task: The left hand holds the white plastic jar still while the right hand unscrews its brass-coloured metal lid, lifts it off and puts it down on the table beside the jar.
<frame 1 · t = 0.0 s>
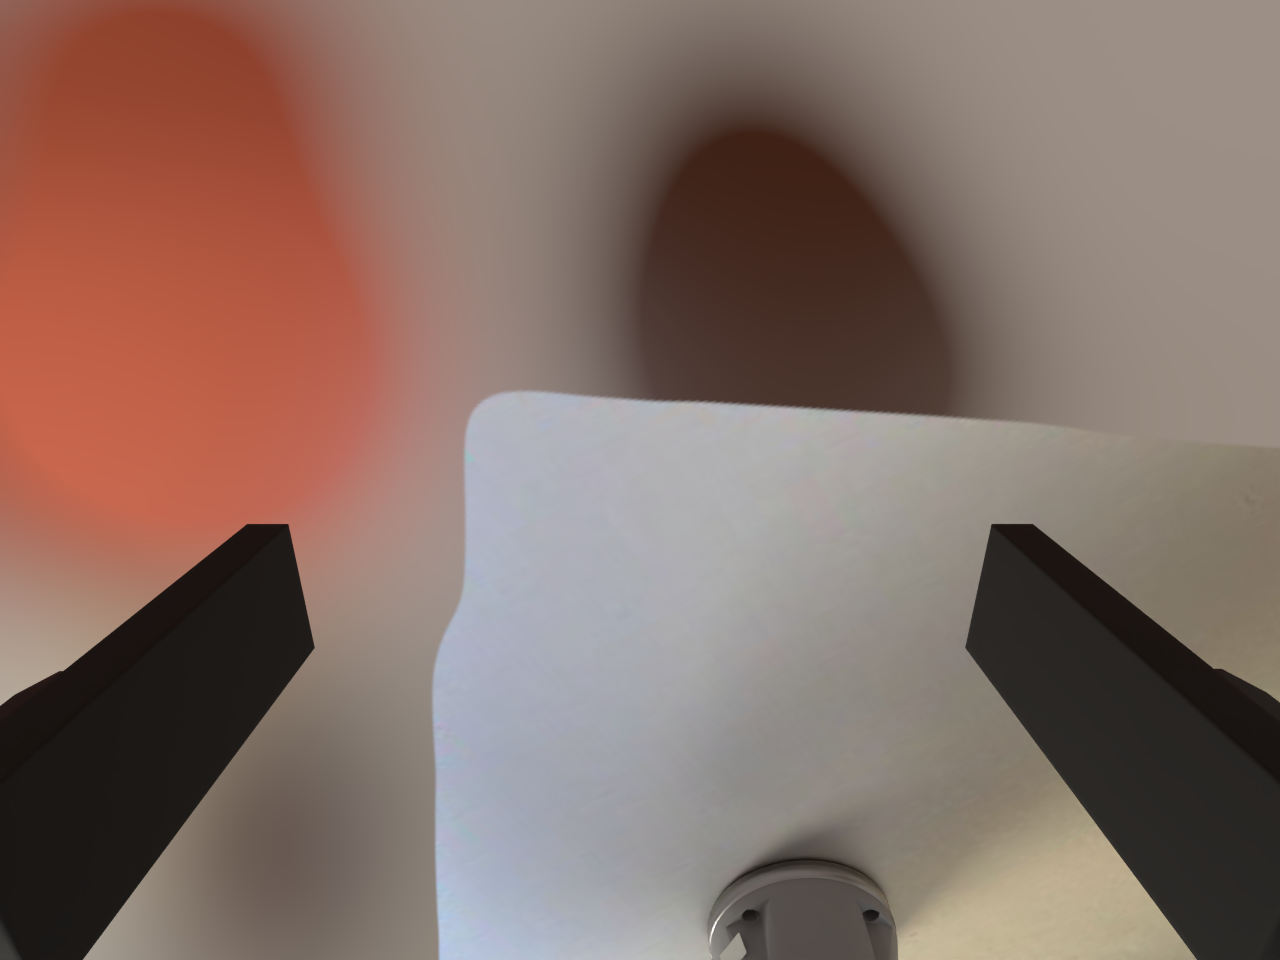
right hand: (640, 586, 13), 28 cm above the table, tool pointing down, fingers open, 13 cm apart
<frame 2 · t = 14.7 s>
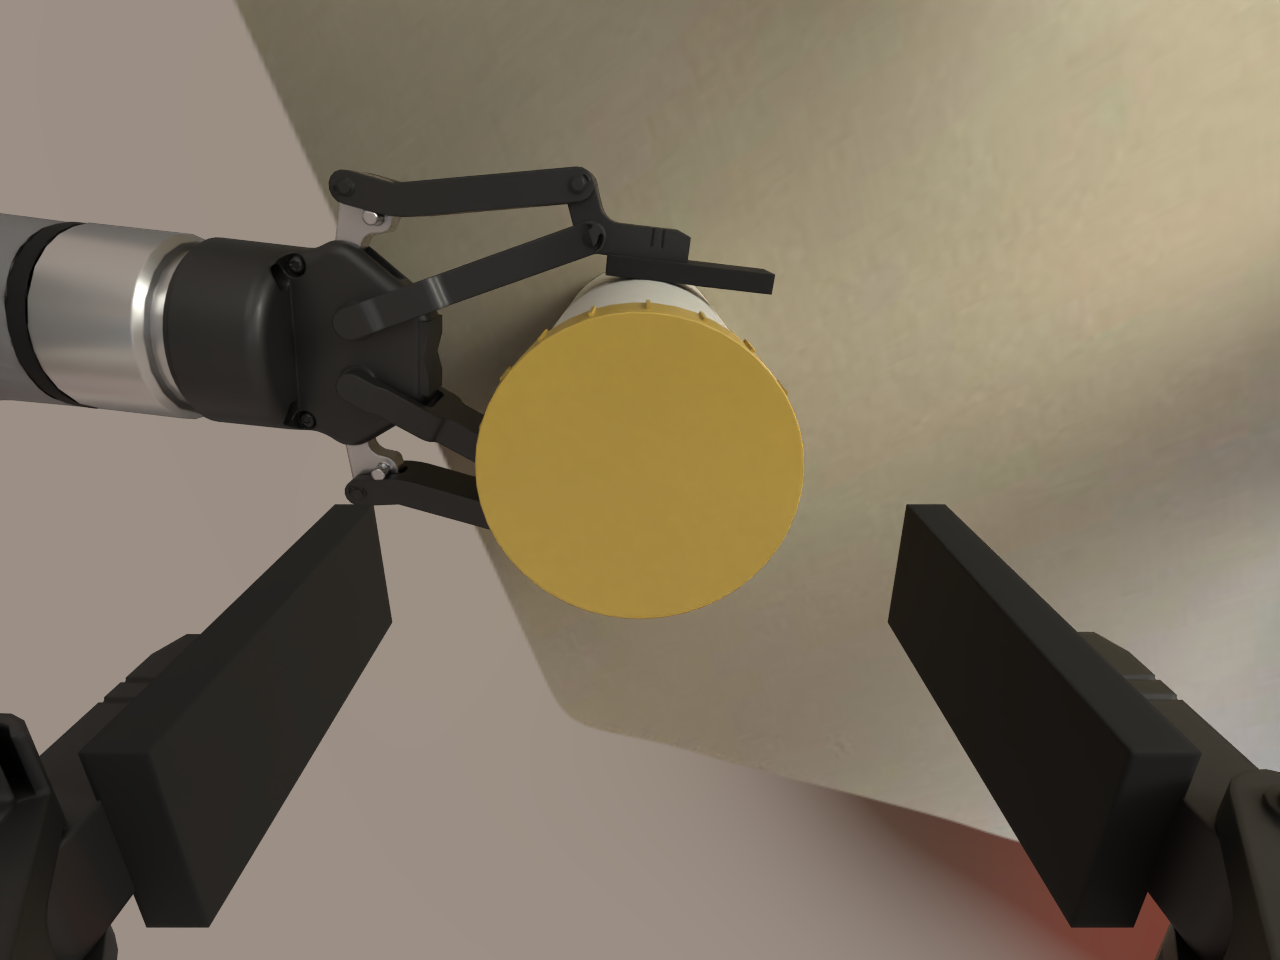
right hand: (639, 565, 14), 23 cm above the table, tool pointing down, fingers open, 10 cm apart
left hand: (747, 389, 29), fingers closed on jar, 8 cm apart
lid: (639, 474, 18), point 18 cm above the table, screwed on, not yet turned
jar: (639, 348, 35), on the table, touching left hand
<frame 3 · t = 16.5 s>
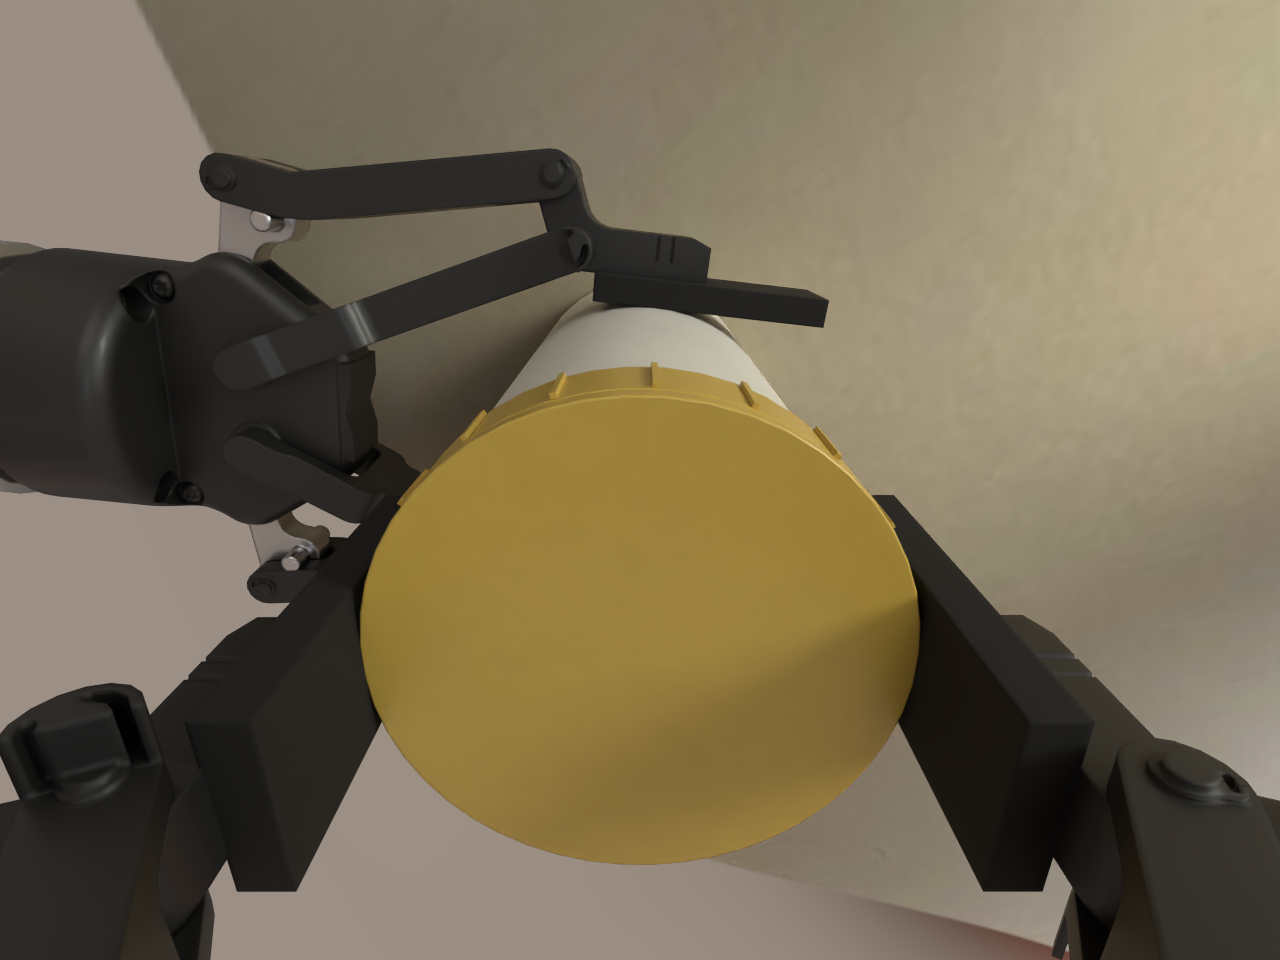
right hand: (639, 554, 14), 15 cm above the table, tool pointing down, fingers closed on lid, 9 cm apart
left hand: (784, 451, 22), fingers closed on jar, 8 cm apart
lid: (639, 652, 11), point 18 cm above the table, screwed on, not yet turned, touching right hand
jar: (640, 385, 28), on the table, touching left hand
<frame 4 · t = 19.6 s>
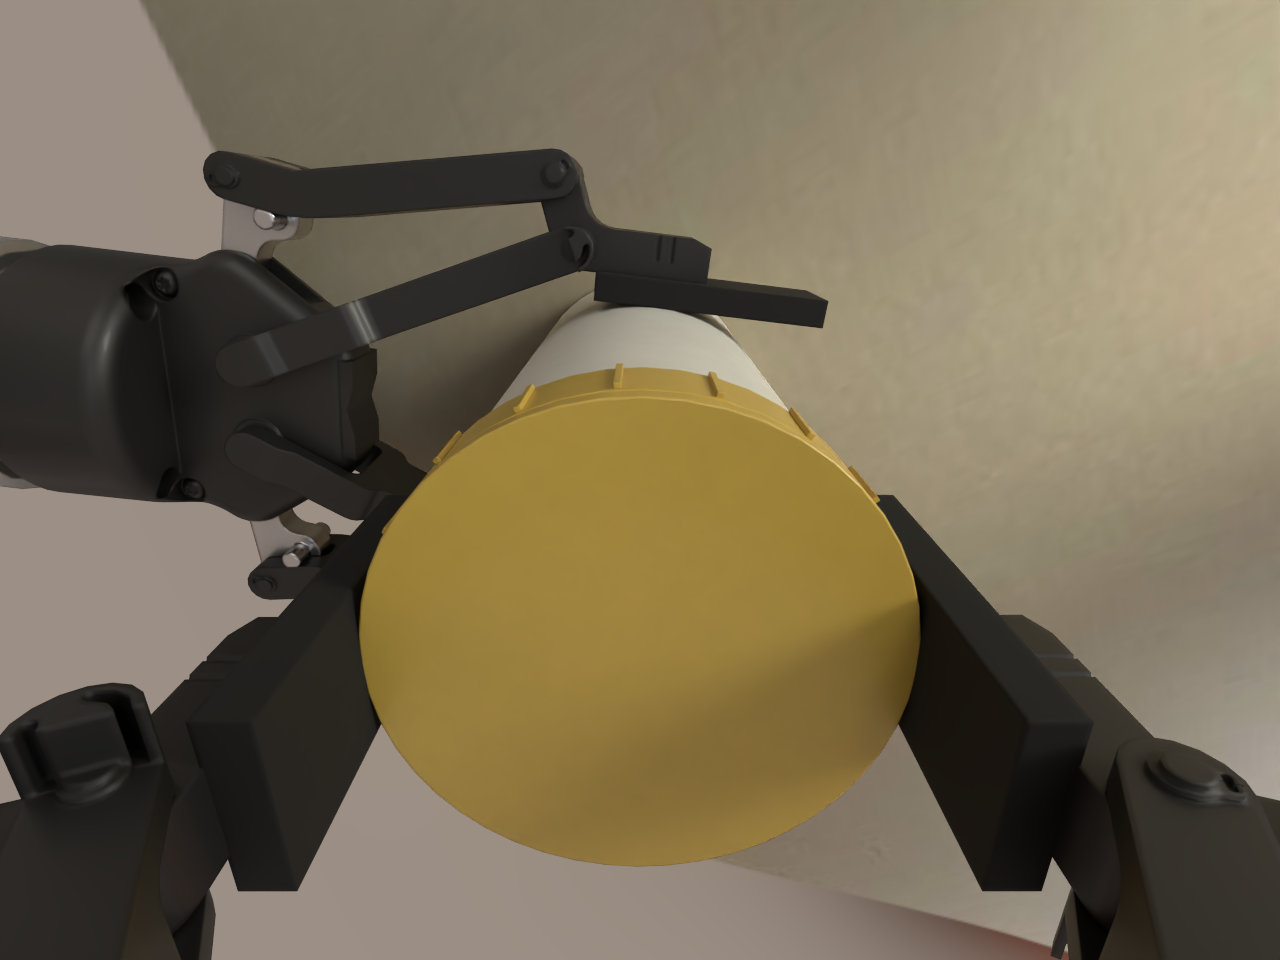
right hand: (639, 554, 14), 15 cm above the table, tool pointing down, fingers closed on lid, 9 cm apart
left hand: (783, 450, 22), fingers closed on jar, 8 cm apart
lid: (639, 654, 11), point 18 cm above the table, turned 102° so far, risen 0.2 cm, still on its thread, touching right hand
jar: (640, 385, 28), on the table, touching left hand
when the right hand's fingers open (0 cm above the table, at t = 36.5 s): lid drops 2 cm, point 2 cm above the table.
when the left hand's fingers open (7 cm above the table, at t = 37.3 s): jar stays where it is, on the table.
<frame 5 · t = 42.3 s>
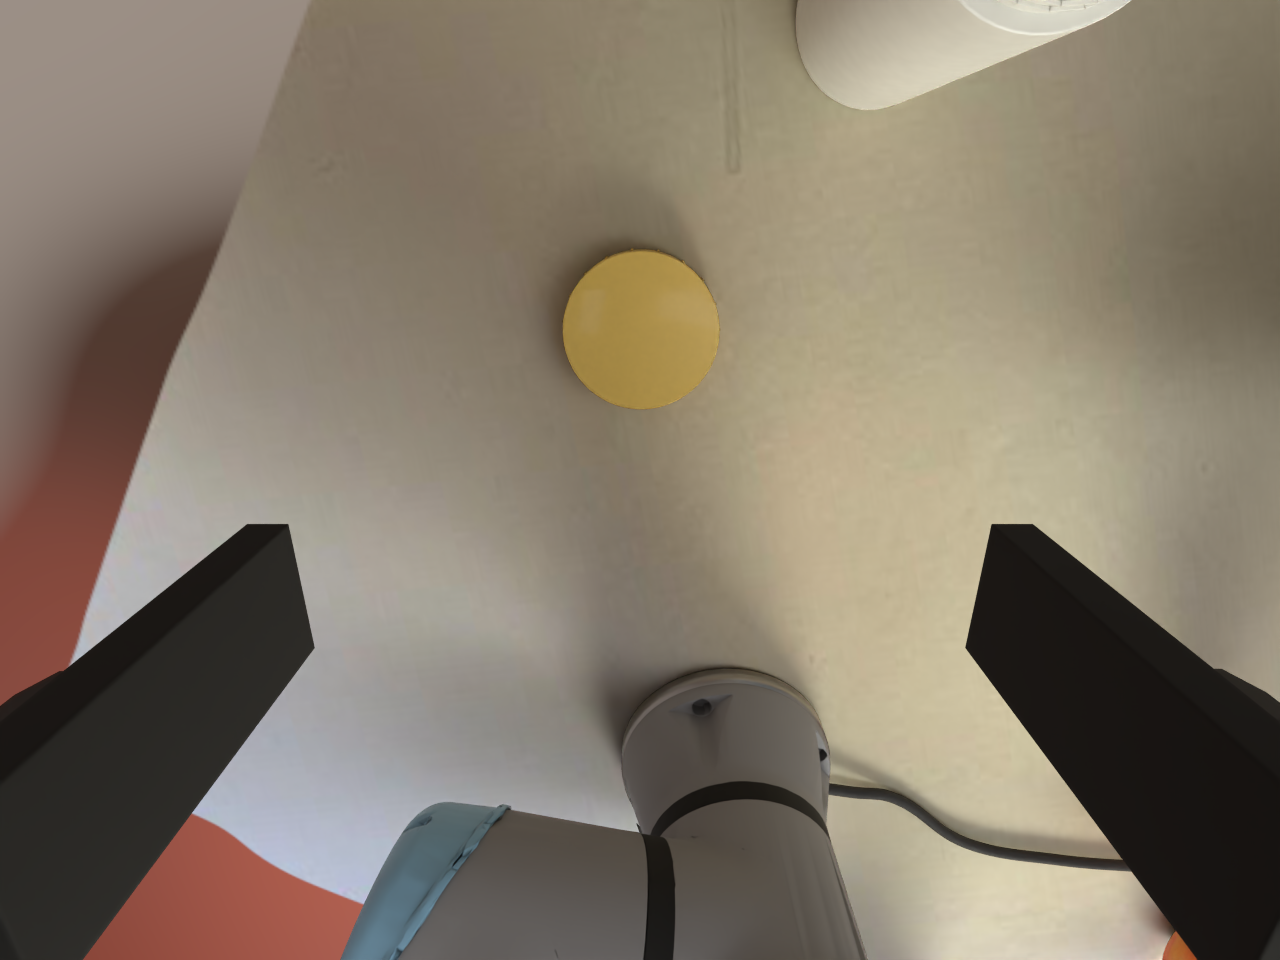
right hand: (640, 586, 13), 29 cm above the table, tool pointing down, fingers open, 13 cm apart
lid: (641, 332, 38), point 2 cm above the table, off its thread
jar: (878, 15, 34), on the table
apple: (1188, 930, 59), on the table
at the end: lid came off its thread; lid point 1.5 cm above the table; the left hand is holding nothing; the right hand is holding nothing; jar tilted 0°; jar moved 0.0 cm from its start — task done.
